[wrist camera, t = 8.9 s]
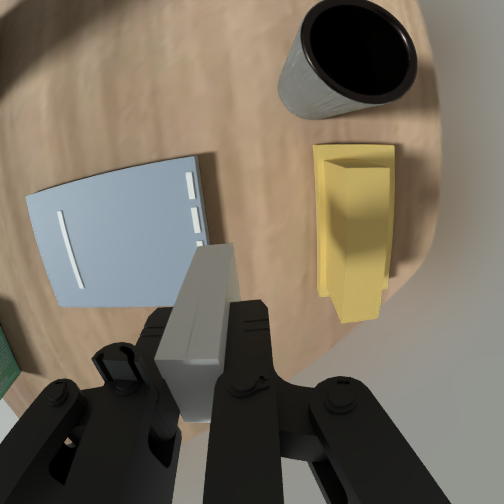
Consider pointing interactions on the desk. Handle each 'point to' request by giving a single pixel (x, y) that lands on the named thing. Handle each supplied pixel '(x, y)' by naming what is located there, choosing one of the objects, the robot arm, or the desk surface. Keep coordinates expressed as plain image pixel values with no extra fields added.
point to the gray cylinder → (346, 60)
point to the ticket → (121, 234)
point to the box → (6, 365)
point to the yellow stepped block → (354, 225)
